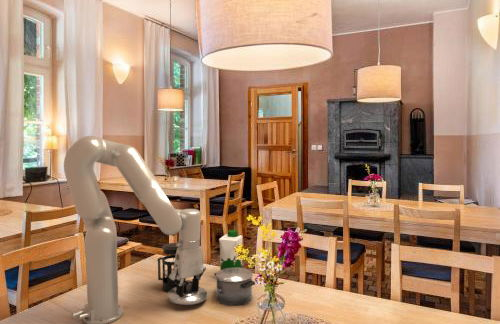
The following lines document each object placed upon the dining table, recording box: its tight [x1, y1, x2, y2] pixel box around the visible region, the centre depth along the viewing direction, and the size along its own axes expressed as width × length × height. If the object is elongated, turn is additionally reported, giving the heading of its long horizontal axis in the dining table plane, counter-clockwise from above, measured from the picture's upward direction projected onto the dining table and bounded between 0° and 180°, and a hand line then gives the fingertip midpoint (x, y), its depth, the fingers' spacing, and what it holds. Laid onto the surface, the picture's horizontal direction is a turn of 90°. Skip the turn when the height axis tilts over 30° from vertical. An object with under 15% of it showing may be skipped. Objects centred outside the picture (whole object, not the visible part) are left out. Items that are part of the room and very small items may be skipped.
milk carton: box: [218, 229, 243, 271], centre depth 150 cm, size 9×9×20 cm
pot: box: [213, 267, 256, 307], centre depth 132 cm, size 14×17×9 cm
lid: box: [167, 280, 208, 306], centre depth 129 cm, size 14×14×5 cm
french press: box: [157, 234, 187, 293], centre depth 141 cm, size 12×9×23 cm
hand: (187, 292), depth 129 cm, fingers closed on lid, 6 cm apart
